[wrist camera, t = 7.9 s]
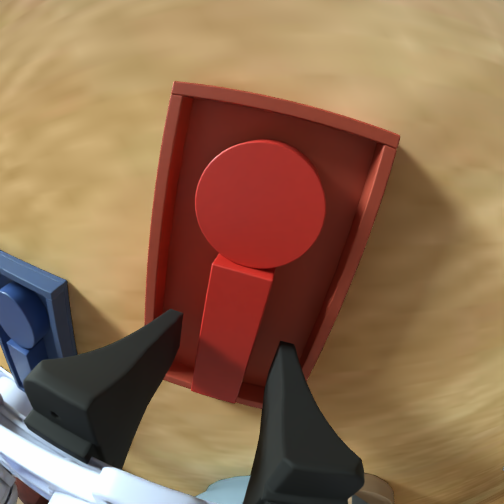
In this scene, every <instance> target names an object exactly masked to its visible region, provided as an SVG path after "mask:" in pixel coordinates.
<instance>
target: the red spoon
mask: <svg viewBox="0 0 504 504" xmlns="http://www.w3.org/2000/svg"><path fill="white" fill-rule="evenodd" d="M195 210H196V217H197V220H198V223H199V226H200V228H201V231H202V233H203V234H204V236H205V238H206V239H207V241H208V242H209V243H210V245H211V246H212V247H213V248H214V249H215V250H216V251H217V252H219V254H218V256H217V257H216V259H215V260H214V262H213V263H212V266H211V272H210V277H209V283H208V288H207V294H206V300H205V306H204V311H203V317H202V323H201V329H200V335H199V341H198V347H197V354H196V360H195V367H194V373H193V380H192V386H191V391H193V392H196V393H199V394H203V395H206V396H209V397H213V398H216V399H219V400H223V401H226V402H230V403H234V404H235V403H236V400H237V397H238V394H239V391H240V388H241V385H242V381H243V378H244V375H245V372H246V369H247V366H248V363H249V359H250V356H251V353H252V350H253V347H254V343H255V340H256V337H257V334H258V330H259V327H260V324H261V321H262V317H263V314H264V311H265V307H266V304H267V301H268V297H269V294H270V291H271V287H272V284H273V280H274V275H275V270H276V267H280V266H283V265H286V264H288V263H291V262H293V261H295V260H296V259H298V258H300V257H301V256H302V255H303V254H305V253H306V252H307V251H308V250H309V249H310V248H311V247H312V246H313V244H314V243H315V242H316V240H317V238H318V237H319V235H320V233H321V230H322V228H323V225H324V221H325V216H326V198H325V193H324V189H323V186H322V183H321V180H320V177H319V175H318V173H317V171H316V169H315V167H314V166H313V164H312V163H311V161H310V160H309V159H308V158H307V157H306V156H305V155H304V154H303V153H302V152H300V151H299V150H298V149H296V148H295V147H293V146H291V145H289V144H287V143H284V142H281V141H277V140H271V139H259V140H252V141H248V142H244V143H240V144H237V145H234V146H232V147H230V148H228V149H226V150H224V151H223V152H221V153H220V154H219V155H217V156H216V157H215V158H214V159H213V160H212V161H211V162H210V163H209V164H208V166H207V167H206V168H205V170H204V172H203V173H202V175H201V177H200V180H199V182H198V185H197V189H196V195H195Z"/></svg>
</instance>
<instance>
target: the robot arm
mask: <svg viewBox="0 0 504 504" xmlns="http://www.w3.org/2000/svg"><path fill="white" fill-rule="evenodd" d="M182 321H183V313H182V312H179V311H176V310H173V309H169V310H168V311H166V312H165V313H163V314H162V315H160V316H159V317H158V318H156V319H155V320H153V321H152V322H150V323H148V324H147V325H145V326H144V327H142V328H140V329H139V330H137V331H136V332H134V333H132V334H130V335H128V336H126V337H125V338H123V339H121V340H119V341H117V342H114V343H112V344H110V345H107V346H105V347H102V348H99V349H96V350H93V351H90V352H87V353H83V354H79V355H75V356H70V357H64V358H57V359H48V360H42V361H41V362H40V363H39V364H37V365H36V366H35V368H34V369H33V370H32V371H31V372H30V373H29V374H28V376H27V377H26V378H25V379H24V380H23V387H24V390H25V393H24V392H23V391H22V390H20V389H19V388H18V387H17V385H16V383H15V380H14V378H13V376H12V375H11V374H10V373H9V372H7V371H6V370H5V369H3V368H2V367H0V504H16V502H17V499H18V491H17V486H16V484H15V483H14V482H15V481H16V479H15V478H14V477H17V478H19V479H20V480H21V481H23V482H24V483H25V484H26V485H28V486H29V487H30V488H32V489H33V490H35V491H36V492H37V493H39V494H40V495H42V496H43V497H44V498H46V499H47V500H49V503H48V504H218V503H214V502H210V501H207V500H203V499H199V498H197V497H194V496H191V495H189V494H185V493H182V492H179V491H176V490H173V489H170V488H167V487H164V486H161V485H159V484H156V483H153V482H150V481H148V480H145V479H143V478H140V477H138V476H135V475H133V474H130V473H128V472H126V471H123V470H122V467H123V465H124V462H125V459H126V456H127V453H128V451H129V448H130V446H131V443H132V440H133V438H134V435H135V433H136V431H137V428H138V426H139V423H140V421H141V419H142V417H143V414H144V412H145V410H146V408H147V406H148V404H149V402H150V400H151V398H152V397H153V395H154V393H155V392H156V390H157V388H158V387H159V385H160V383H161V382H162V380H163V379H164V377H165V375H166V374H167V372H168V370H169V369H170V367H171V365H172V363H173V361H174V359H175V356H176V354H177V352H178V349H179V347H180V338H181V330H182ZM13 476H14V477H13ZM364 483H365V478H364V469H363V465H362V460H361V459H360V458H359V457H358V456H357V455H356V454H355V453H354V452H353V451H352V450H351V449H350V448H349V447H348V446H347V445H346V444H345V443H344V442H343V441H342V440H341V439H340V438H339V436H338V435H337V434H336V433H335V431H334V430H333V429H332V427H331V426H330V425H329V423H328V422H327V420H326V419H325V417H324V416H323V414H322V412H321V411H320V409H319V407H318V406H317V404H316V402H315V400H314V398H313V396H312V394H311V391H310V389H309V387H308V385H307V382H306V379H305V377H304V374H303V371H302V369H301V365H300V362H299V359H298V355H297V351H296V347H295V345H294V344H292V343H288V342H284V341H280V342H279V345H278V348H277V350H276V353H275V356H274V358H273V361H272V364H271V366H270V369H269V372H268V376H267V380H266V385H265V389H264V396H263V406H262V416H261V426H260V435H259V441H258V446H257V450H256V454H255V459H254V463H253V467H252V471H251V475H250V479H249V483H248V486H247V490H246V494H245V497H244V501H243V504H348V499H349V498H350V497H351V496H353V495H354V494H355V493H357V492H358V491H359V490H360V489H361V488H362V487H363V486H364Z"/></svg>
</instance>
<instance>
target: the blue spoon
mask: <svg viewBox="0 0 504 504" xmlns="http://www.w3.org/2000/svg"><path fill="white" fill-rule="evenodd" d="M0 324H1V326H2V328H3V329H4V331H5V332H6V333H7V334H8V336H9V337H10V338H11V339H10V340H9V341H8V342H7V345H8V348H9V351H10V354H11V356H12V359H13V362H14V364H15V367H16V370H17V372H18V375H19V377H20V380H21V382H22V384H23V380H24V379H25V378H26V377H27V376H28V374H29V373H30V372H31V371H32V370H33V369H34V368H35V366H36V365H37V364H39V363H40V362H41V361H42V360H48V359H49V358H48V354H47V351H46V347H45V343H44V339H43V337H44V336H45V335H46V334H47V332H48V330H49V318H48V315H47V312H46V309H45V307H44V305H43V303H42V302H41V300H40V298H39V297H38V296H37V294H36V293H35V292H34V291H32V290H30V289H28V288H26V287H24V286H23V285H21V284H19V283H17V282H15V281H11V282H10V283H8V284H7V285H5V286H4V287H3V288H1V289H0Z"/></svg>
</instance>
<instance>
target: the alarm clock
mask: <svg viewBox="0 0 504 504" xmlns="http://www.w3.org/2000/svg"><path fill="white" fill-rule="evenodd" d="M364 478H365V483H364V486H363V487H362V488H361V489H360V490H359V491H358V492H357V493H355V494H354V495H353V496H351V497H350V498H349V499H348V504H394V493H393V490H392V489H391V487H390V486H389V485H388V483H386V482H385V481H383V480H381V479H380V478H378V477H376V476H375V475H370V474H366V473H364ZM249 479H250V476H238V477H232V478H228V479H223V480H219V481H217V482H215V483H213V484H211V485H209V487H208V489H207V490H206V492H203V493H201V494H199V495H197V496H195V497H197V498H199V499H203V500H207V501H210V502H214V503H218V504H243V501H244V497H245V494H246V490H247V486H248V483H249Z"/></svg>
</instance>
